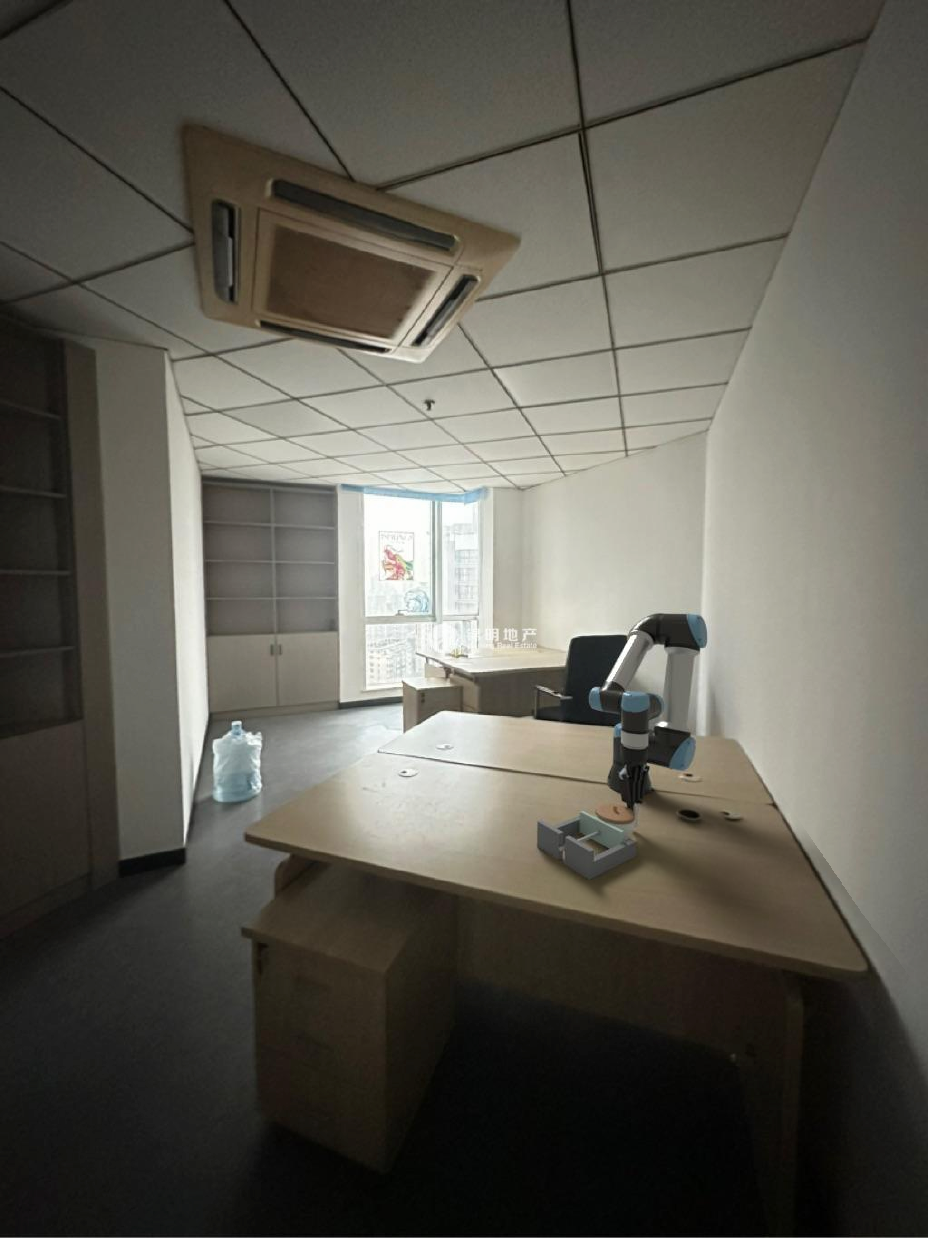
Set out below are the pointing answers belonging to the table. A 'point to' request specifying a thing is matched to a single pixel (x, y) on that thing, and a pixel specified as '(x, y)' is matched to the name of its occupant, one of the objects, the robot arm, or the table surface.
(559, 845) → the grey fixture frame
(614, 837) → the pusher
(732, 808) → the table surface
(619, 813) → the lidded jar
